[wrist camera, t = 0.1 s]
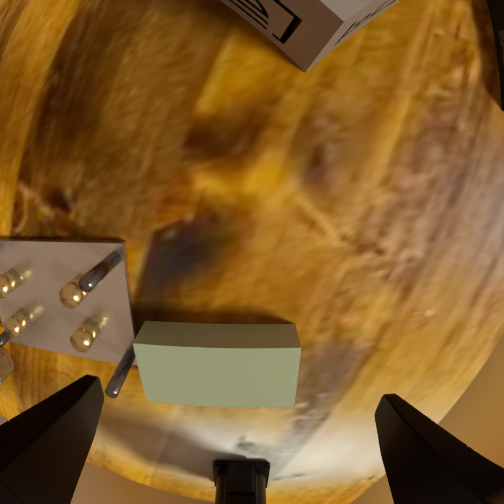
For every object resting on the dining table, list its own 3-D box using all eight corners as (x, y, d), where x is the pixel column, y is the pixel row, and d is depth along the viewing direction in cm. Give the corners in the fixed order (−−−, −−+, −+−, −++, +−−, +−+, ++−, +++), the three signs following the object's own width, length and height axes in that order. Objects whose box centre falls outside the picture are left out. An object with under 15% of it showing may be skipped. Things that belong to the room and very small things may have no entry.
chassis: (127, 239, 22) (92, 268, 17) (142, 359, 26) (122, 404, 20) (-12, 237, 22) (-53, 257, 17) (12, 336, 26) (-18, 366, 20)
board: (293, 319, 25) (300, 347, 21) (289, 375, 27) (293, 406, 23) (147, 316, 25) (132, 343, 21) (157, 372, 27) (146, 401, 23)
